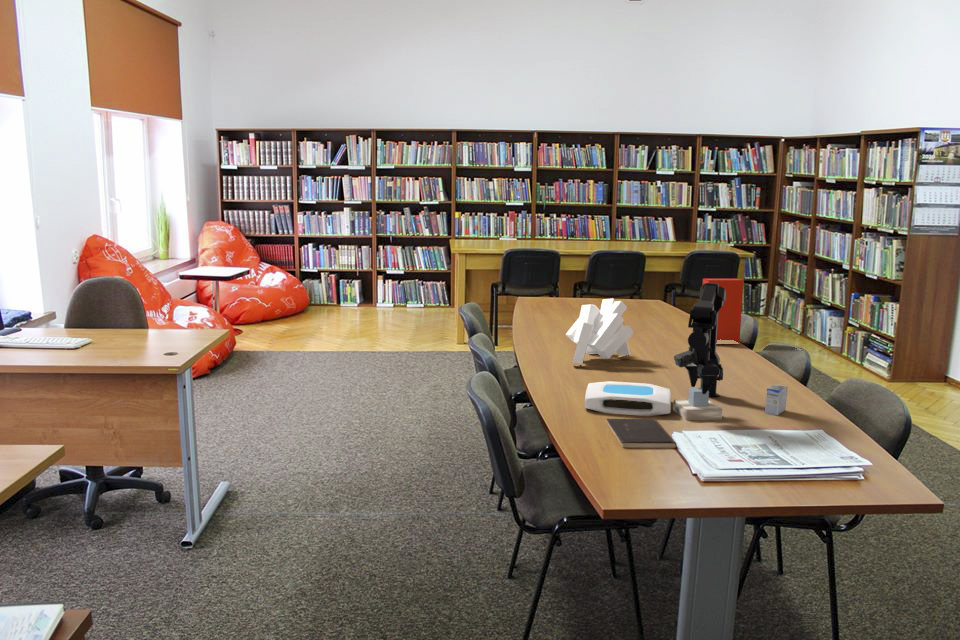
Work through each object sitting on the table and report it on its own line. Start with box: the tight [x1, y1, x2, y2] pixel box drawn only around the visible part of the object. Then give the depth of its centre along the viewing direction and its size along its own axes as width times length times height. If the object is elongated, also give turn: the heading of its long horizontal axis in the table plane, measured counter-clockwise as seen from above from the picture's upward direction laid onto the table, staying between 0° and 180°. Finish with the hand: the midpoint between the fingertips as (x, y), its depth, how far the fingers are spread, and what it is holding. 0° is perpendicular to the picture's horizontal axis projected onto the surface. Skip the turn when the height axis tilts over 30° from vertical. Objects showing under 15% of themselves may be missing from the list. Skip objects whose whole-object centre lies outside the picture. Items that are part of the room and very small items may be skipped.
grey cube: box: [687, 387, 710, 407], centre depth 252 cm, size 5×5×5 cm
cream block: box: [672, 399, 723, 421], centre depth 252 cm, size 12×12×4 cm
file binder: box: [702, 278, 744, 344], centre depth 373 cm, size 8×17×32 cm, turn 95°
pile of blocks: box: [565, 297, 635, 365], centre depth 333 cm, size 35×30×35 cm
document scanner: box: [584, 381, 672, 417], centre depth 262 cm, size 21×28×6 cm
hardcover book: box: [606, 418, 678, 449], centre depth 230 cm, size 16×23×2 cm
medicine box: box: [764, 383, 788, 416], centre depth 256 cm, size 8×4×9 cm, turn 141°
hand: (698, 390), depth 251 cm, fingers open, 9 cm apart
